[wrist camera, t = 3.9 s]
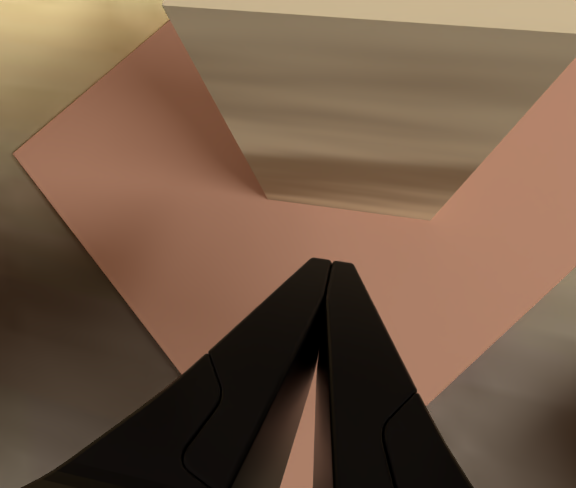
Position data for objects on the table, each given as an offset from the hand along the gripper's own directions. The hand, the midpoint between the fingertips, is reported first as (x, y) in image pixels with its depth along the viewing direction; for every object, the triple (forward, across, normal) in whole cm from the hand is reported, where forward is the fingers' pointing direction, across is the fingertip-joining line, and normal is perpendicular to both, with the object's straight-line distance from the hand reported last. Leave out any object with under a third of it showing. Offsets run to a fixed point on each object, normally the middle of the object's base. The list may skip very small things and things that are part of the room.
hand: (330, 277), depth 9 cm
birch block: (+8, 0, +1) cm, 9 cm away
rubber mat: (+9, +1, +1) cm, 9 cm away
